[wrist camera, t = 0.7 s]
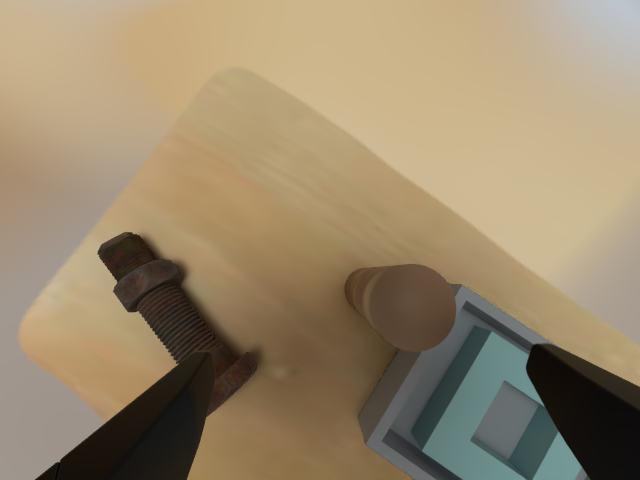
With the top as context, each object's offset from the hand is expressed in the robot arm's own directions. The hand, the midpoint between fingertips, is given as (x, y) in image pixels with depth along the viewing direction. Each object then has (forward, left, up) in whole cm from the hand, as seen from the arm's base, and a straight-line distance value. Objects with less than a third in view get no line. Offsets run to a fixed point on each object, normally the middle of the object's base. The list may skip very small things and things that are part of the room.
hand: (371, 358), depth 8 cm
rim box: (0, -16, -17) cm, 23 cm away
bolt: (-8, +10, -18) cm, 22 cm away
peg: (+2, -2, -17) cm, 17 cm away
